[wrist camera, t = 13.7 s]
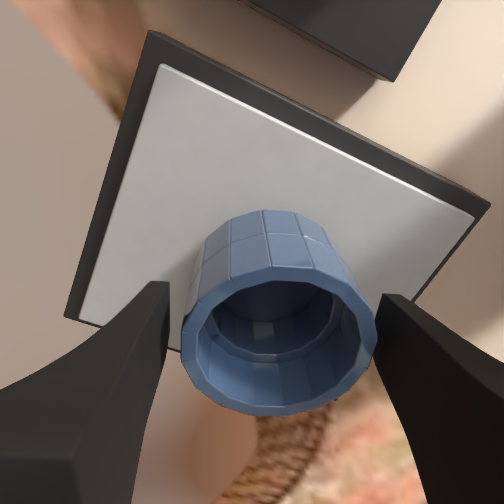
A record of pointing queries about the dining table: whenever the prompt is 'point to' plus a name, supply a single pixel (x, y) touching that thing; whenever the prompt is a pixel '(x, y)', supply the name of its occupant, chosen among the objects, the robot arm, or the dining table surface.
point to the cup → (274, 317)
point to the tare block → (356, 28)
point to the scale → (251, 188)
